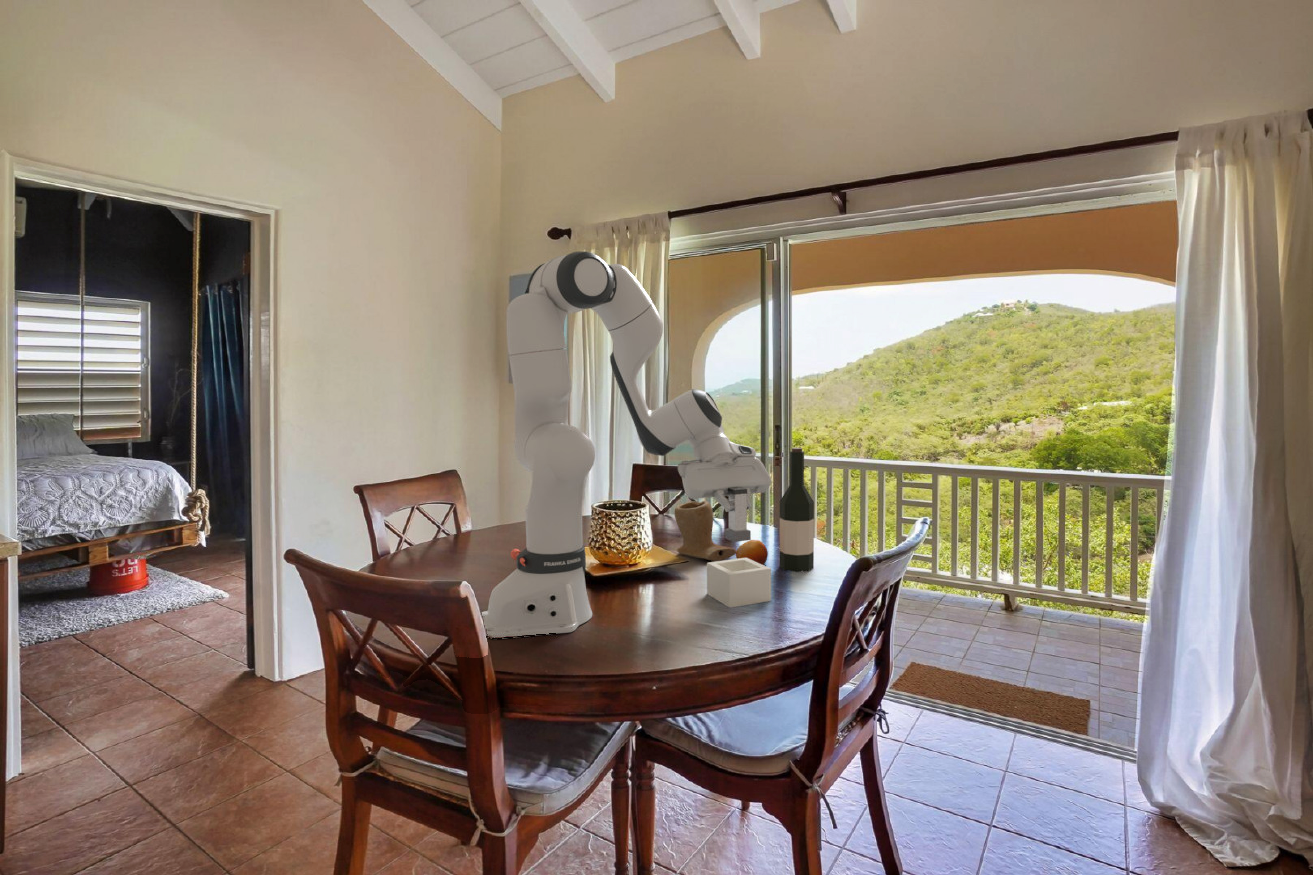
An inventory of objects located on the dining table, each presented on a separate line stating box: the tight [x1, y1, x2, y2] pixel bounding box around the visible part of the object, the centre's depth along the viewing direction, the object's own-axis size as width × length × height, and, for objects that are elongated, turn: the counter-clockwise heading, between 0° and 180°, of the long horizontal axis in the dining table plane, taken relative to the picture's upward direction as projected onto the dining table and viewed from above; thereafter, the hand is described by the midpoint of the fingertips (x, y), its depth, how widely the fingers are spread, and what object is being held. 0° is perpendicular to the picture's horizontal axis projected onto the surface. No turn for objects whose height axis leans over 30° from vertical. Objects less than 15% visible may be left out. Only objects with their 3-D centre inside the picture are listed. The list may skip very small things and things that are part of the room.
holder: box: [706, 558, 772, 608], centre depth 143 cm, size 10×10×7 cm
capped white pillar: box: [724, 487, 752, 543], centre depth 142 cm, size 4×4×11 cm
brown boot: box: [674, 500, 737, 562], centre depth 176 cm, size 15×12×15 cm
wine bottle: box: [779, 447, 815, 573], centre depth 165 cm, size 8×8×30 cm
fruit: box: [735, 539, 769, 567], centre depth 167 cm, size 8×8×8 cm
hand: (739, 509), depth 142 cm, fingers closed on capped white pillar, 3 cm apart
